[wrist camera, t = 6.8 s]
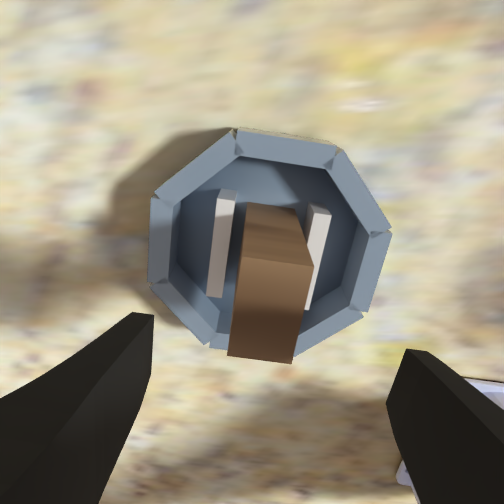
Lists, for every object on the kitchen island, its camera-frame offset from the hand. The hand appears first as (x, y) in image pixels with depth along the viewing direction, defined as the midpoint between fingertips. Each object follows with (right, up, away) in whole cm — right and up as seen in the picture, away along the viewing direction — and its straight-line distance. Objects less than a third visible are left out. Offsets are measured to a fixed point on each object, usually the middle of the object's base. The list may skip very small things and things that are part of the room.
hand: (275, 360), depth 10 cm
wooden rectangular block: (0, +4, +9) cm, 10 cm away
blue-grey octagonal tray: (0, +4, +9) cm, 10 cm away
